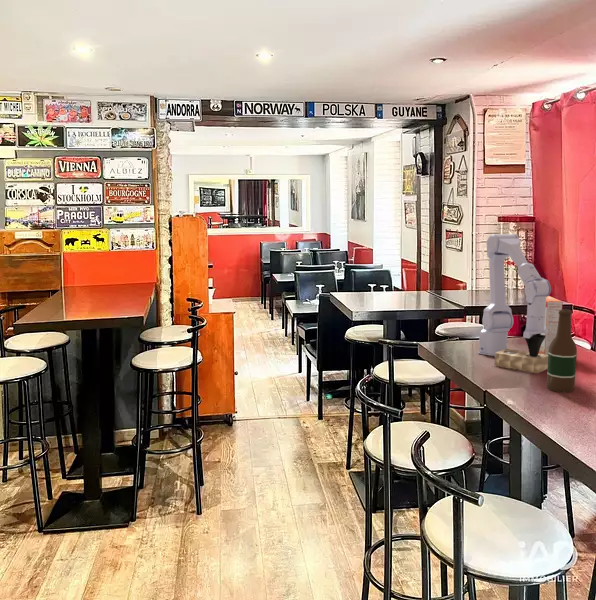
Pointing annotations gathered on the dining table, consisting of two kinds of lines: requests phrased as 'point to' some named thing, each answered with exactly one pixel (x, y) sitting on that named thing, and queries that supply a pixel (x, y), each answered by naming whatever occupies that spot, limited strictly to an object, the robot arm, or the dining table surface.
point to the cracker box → (550, 322)
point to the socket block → (521, 361)
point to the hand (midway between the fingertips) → (533, 356)
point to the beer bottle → (562, 356)
